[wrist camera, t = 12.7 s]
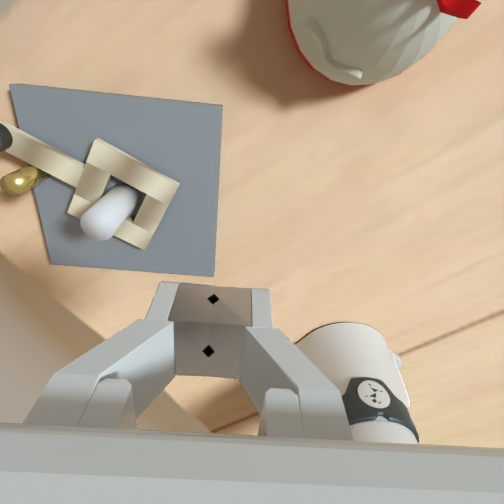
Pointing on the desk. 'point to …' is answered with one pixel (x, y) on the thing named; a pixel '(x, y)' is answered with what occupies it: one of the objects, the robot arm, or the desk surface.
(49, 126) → the board
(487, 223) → the desk surface
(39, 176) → the gold rounded cylinder
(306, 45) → the kitchen timer
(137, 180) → the knobbed lever handle
